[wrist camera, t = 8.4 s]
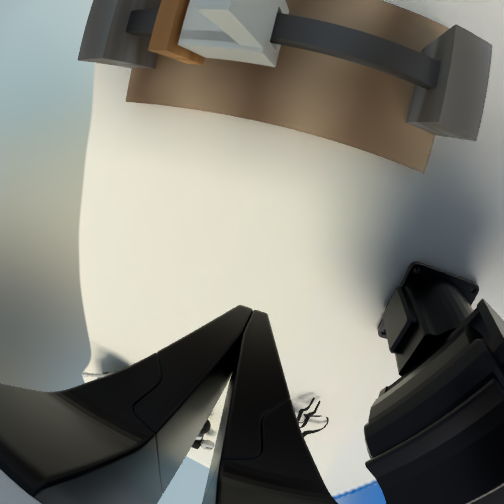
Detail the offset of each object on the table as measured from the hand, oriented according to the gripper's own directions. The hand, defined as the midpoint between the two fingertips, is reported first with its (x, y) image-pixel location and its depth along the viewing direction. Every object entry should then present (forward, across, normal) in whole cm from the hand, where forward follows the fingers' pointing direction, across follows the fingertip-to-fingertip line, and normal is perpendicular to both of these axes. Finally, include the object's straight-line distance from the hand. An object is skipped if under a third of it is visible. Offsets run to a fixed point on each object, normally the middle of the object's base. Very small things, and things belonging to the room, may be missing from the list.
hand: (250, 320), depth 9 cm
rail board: (+12, +3, -10) cm, 16 cm away
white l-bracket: (+9, +5, -10) cm, 14 cm away
